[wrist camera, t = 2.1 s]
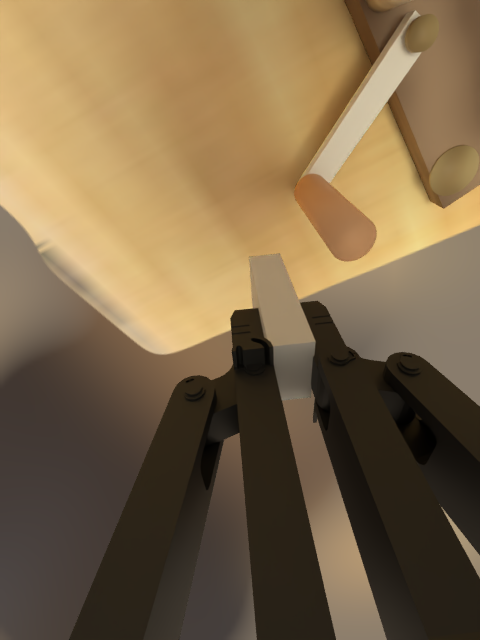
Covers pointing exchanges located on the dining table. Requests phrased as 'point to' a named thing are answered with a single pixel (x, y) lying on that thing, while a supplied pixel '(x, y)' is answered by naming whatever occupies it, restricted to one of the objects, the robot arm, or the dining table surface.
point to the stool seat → (433, 87)
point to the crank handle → (313, 186)
